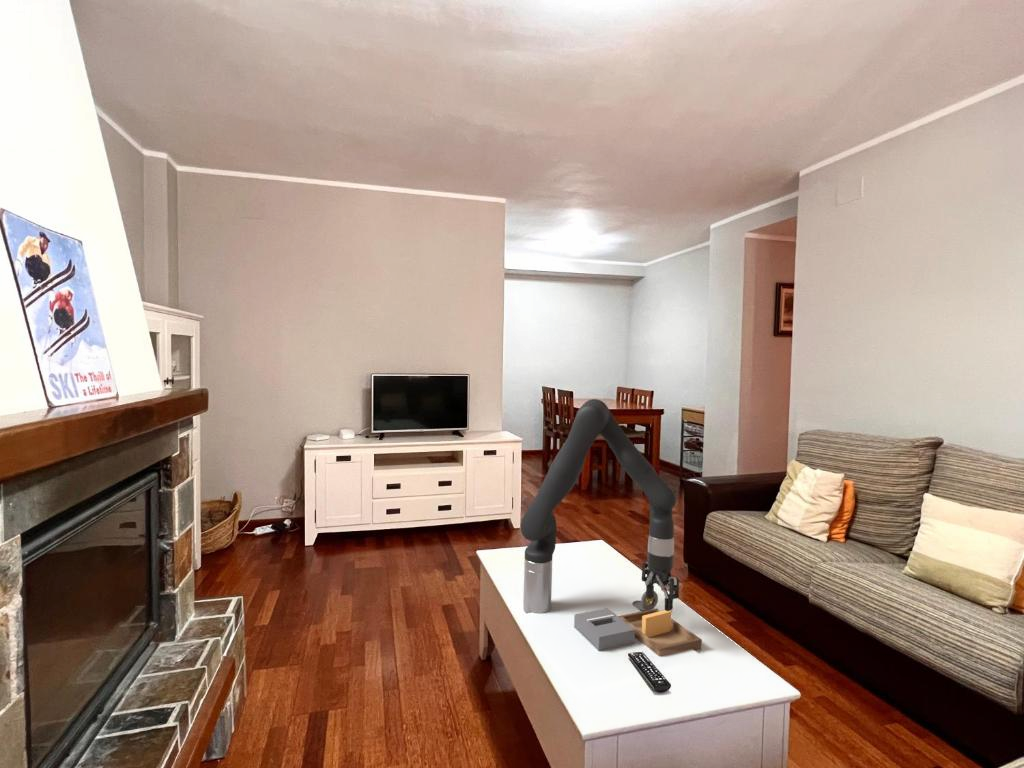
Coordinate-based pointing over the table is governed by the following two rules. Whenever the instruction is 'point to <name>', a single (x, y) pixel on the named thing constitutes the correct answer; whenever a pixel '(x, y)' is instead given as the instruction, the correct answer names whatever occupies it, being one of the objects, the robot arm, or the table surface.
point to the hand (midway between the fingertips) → (658, 604)
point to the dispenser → (604, 629)
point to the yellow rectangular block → (656, 623)
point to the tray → (663, 635)
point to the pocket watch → (646, 602)
